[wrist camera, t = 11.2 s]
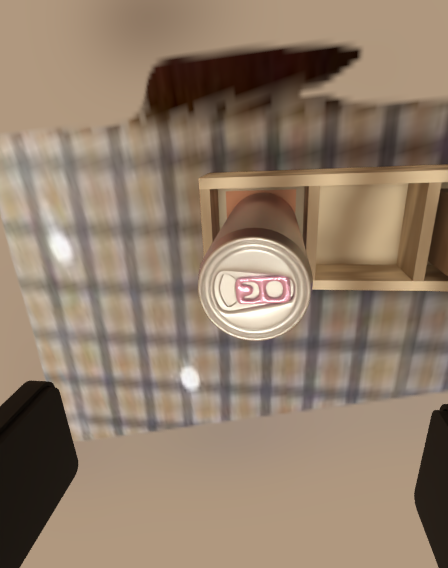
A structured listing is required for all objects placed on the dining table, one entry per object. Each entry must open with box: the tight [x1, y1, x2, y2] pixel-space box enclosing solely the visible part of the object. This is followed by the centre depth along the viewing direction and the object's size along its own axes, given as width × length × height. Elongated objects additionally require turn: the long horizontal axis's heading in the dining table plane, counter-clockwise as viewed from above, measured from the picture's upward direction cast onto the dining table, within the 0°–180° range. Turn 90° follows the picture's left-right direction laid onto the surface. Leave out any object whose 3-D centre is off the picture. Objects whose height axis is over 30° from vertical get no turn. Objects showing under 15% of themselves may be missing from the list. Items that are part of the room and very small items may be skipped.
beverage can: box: [198, 193, 313, 341], centre depth 24 cm, size 6×6×15 cm
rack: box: [198, 164, 448, 291], centre depth 29 cm, size 25×9×5 cm, turn 92°
